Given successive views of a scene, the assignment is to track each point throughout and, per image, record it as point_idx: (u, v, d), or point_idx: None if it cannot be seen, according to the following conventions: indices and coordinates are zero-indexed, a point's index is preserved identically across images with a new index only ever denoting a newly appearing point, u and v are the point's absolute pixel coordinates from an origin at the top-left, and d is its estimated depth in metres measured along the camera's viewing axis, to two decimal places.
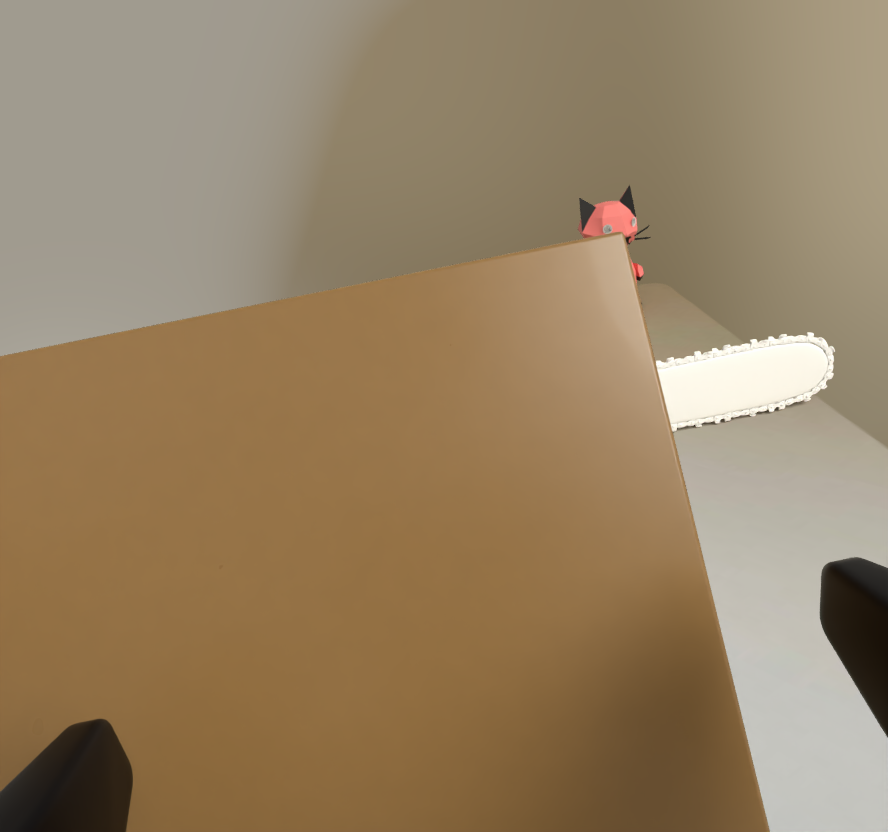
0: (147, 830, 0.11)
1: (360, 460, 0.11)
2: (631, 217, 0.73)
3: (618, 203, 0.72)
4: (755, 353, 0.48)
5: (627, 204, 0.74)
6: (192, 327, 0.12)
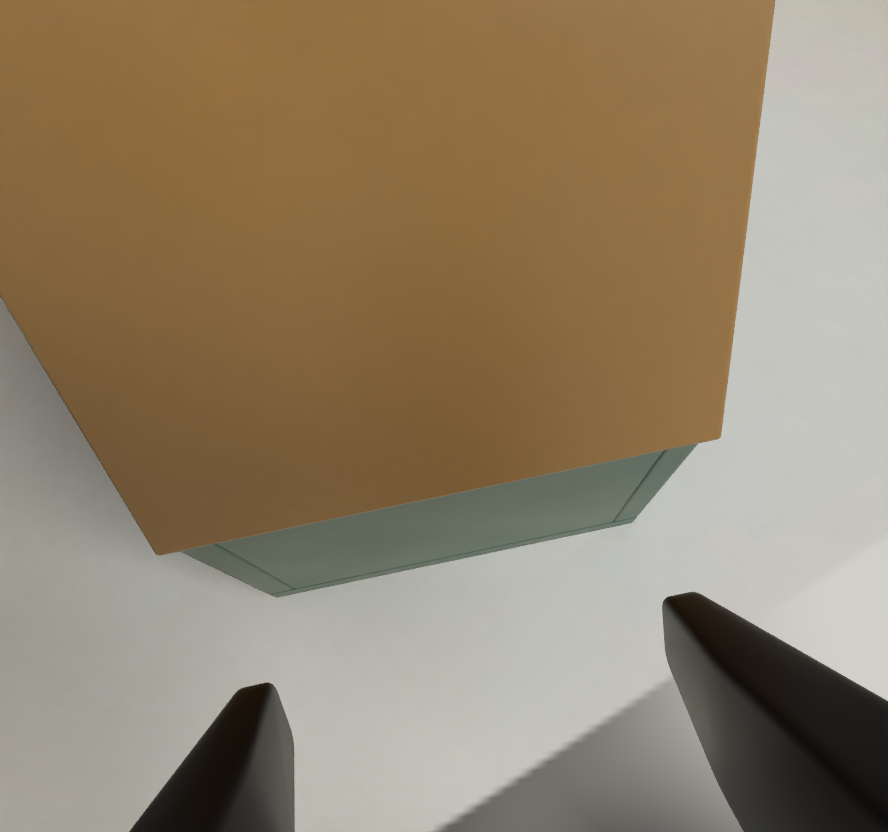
0: (144, 206, 0.10)
1: None
2: None
3: None
4: None
5: None
6: None
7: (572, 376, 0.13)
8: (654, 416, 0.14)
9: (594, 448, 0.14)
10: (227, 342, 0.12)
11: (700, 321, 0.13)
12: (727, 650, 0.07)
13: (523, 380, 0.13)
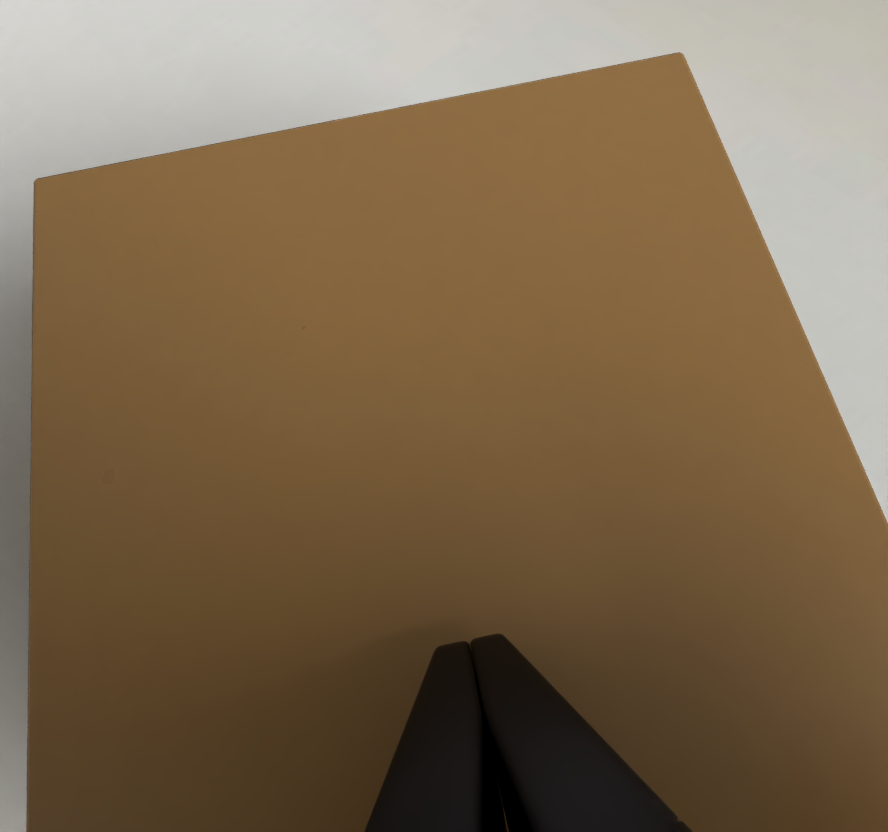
0: (212, 582, 0.10)
1: (442, 234, 0.12)
2: None
3: None
4: None
5: None
6: (287, 135, 0.13)
7: None
8: None
9: None
10: (258, 765, 0.09)
11: None
12: (500, 699, 0.07)
13: None
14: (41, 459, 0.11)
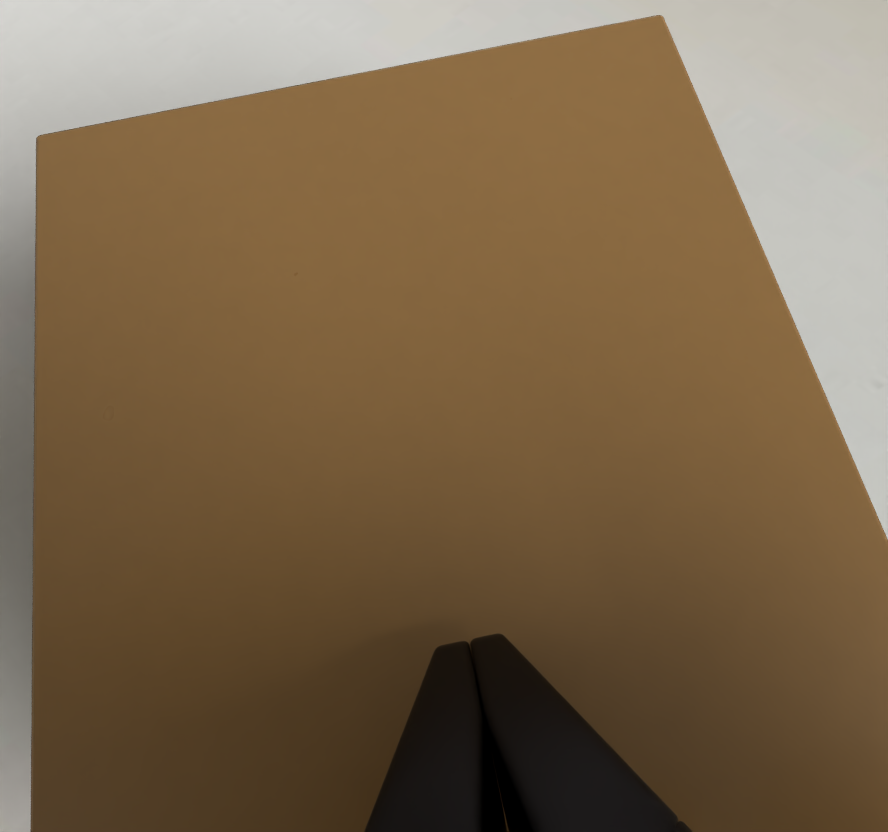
0: (207, 510, 0.10)
1: (429, 186, 0.12)
2: None
3: None
4: None
5: None
6: (280, 94, 0.13)
7: (723, 758, 0.09)
8: None
9: None
10: (251, 677, 0.09)
11: (887, 665, 0.09)
12: (500, 699, 0.07)
13: (648, 763, 0.09)
14: (44, 397, 0.11)
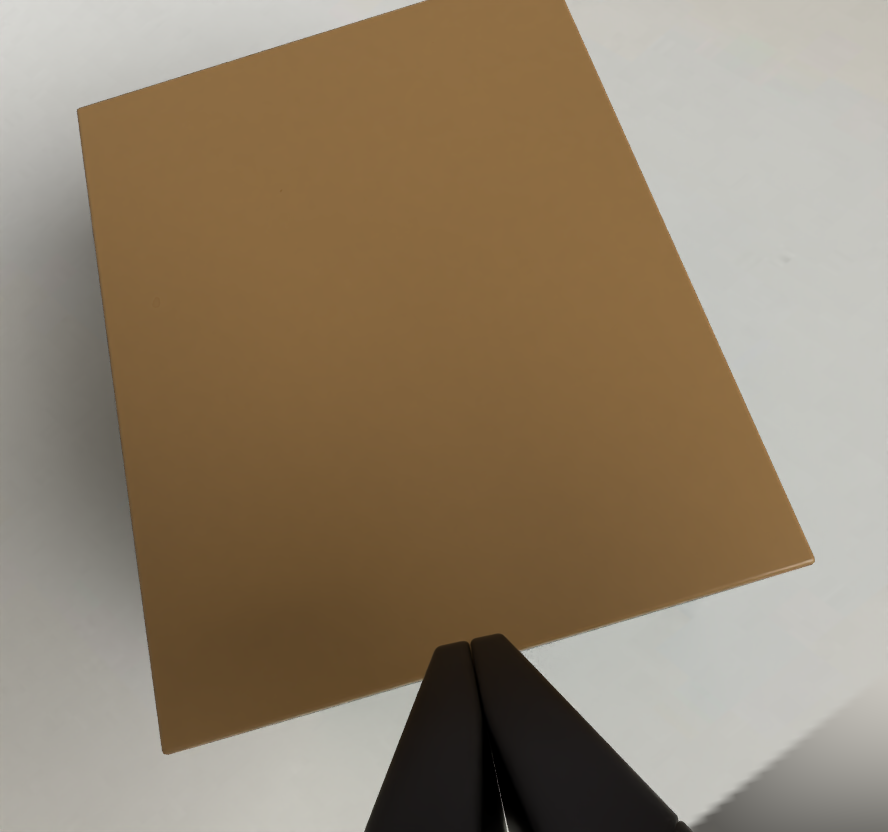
0: (233, 360, 0.15)
1: (375, 115, 0.16)
2: None
3: None
4: None
5: None
6: (257, 57, 0.17)
7: (597, 481, 0.13)
8: (712, 529, 0.13)
9: (656, 579, 0.12)
10: (275, 463, 0.14)
11: (709, 413, 0.13)
12: (500, 699, 0.07)
13: (546, 490, 0.13)
14: (109, 296, 0.15)
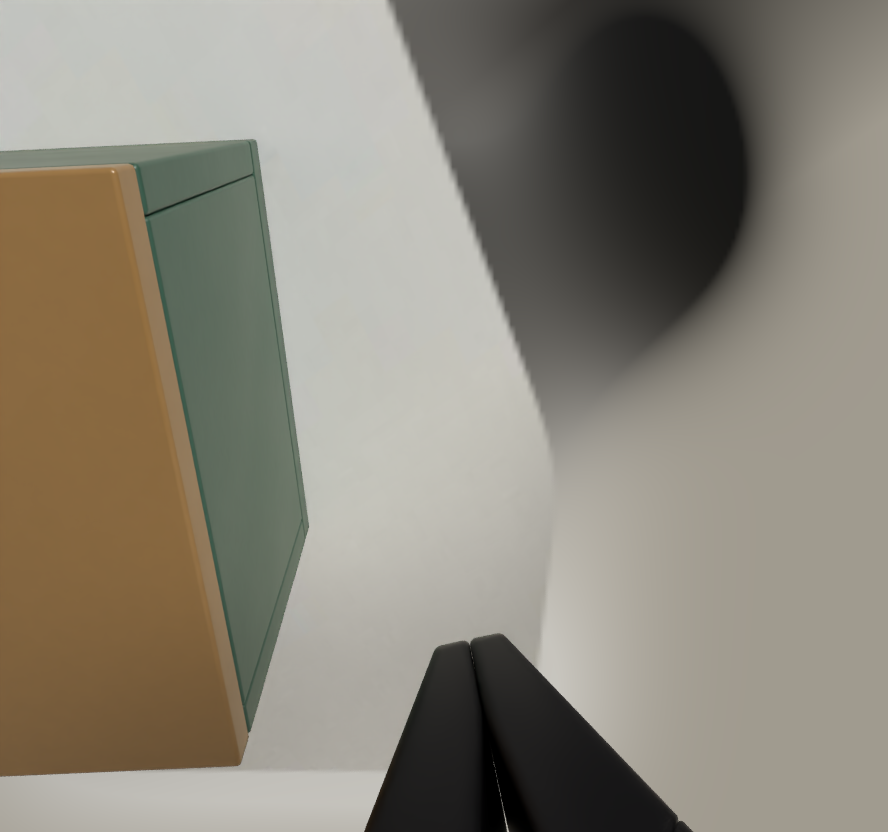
0: None
1: None
2: None
3: None
4: None
5: None
6: None
7: (7, 377, 0.11)
8: (68, 272, 0.11)
9: (121, 347, 0.11)
10: None
11: None
12: (500, 699, 0.07)
13: (14, 430, 0.12)
14: None
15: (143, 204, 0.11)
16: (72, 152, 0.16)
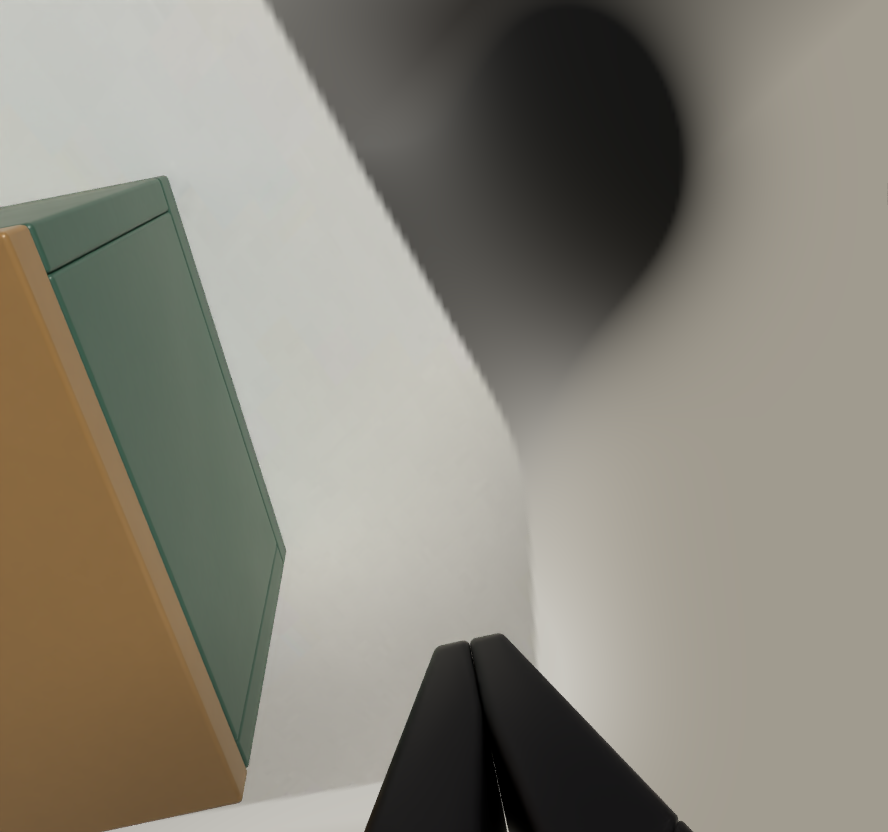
0: None
1: None
2: None
3: None
4: None
5: None
6: None
7: None
8: None
9: (45, 409, 0.11)
10: None
11: None
12: (500, 699, 0.07)
13: None
14: None
15: (44, 262, 0.11)
16: None
